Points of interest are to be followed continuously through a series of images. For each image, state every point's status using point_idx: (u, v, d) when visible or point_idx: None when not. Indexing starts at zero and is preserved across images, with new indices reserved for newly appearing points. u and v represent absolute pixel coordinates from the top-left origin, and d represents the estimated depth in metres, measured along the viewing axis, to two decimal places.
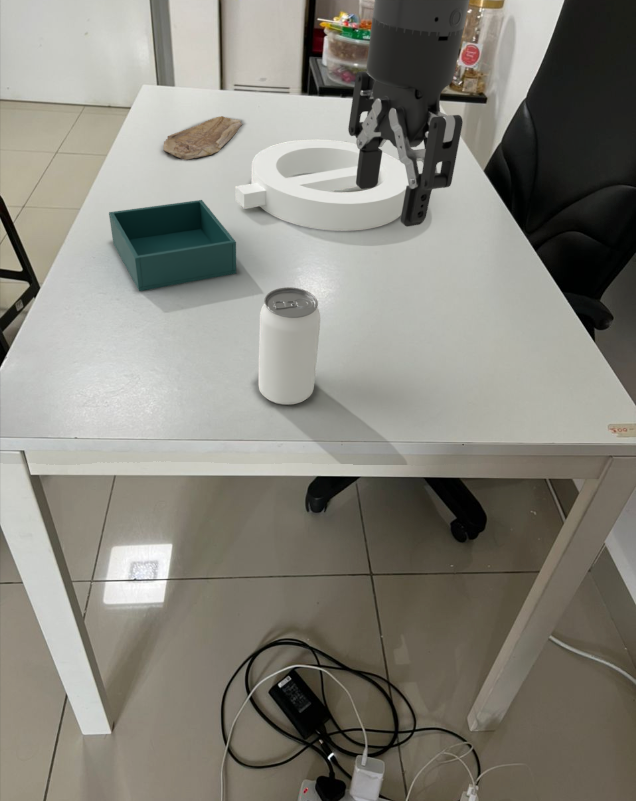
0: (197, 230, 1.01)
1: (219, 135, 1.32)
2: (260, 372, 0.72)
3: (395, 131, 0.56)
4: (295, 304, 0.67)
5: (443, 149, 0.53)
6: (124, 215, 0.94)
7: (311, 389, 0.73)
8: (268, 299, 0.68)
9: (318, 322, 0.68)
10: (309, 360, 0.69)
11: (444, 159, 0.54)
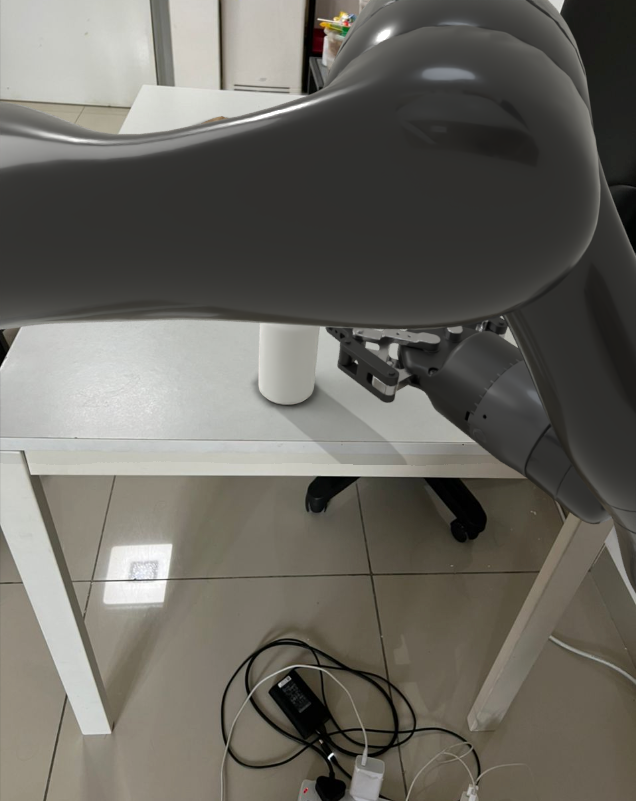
0: None
1: None
2: (260, 372, 0.72)
3: (417, 335, 0.51)
4: None
5: (366, 373, 0.49)
6: None
7: (311, 389, 0.73)
8: None
9: None
10: (309, 360, 0.69)
11: (358, 370, 0.49)
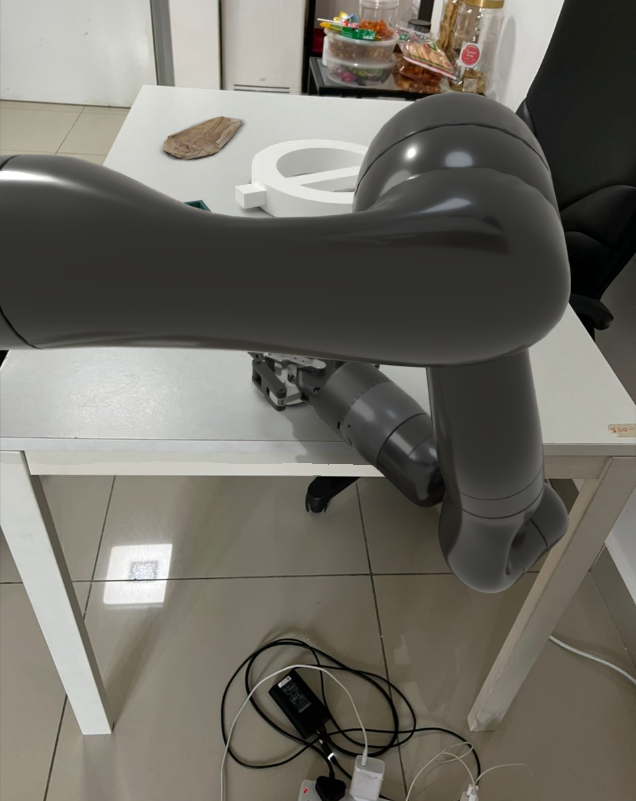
0: None
1: (219, 135, 1.32)
2: None
3: (310, 360, 0.65)
4: None
5: (266, 386, 0.64)
6: None
7: None
8: None
9: None
10: None
11: (262, 384, 0.64)
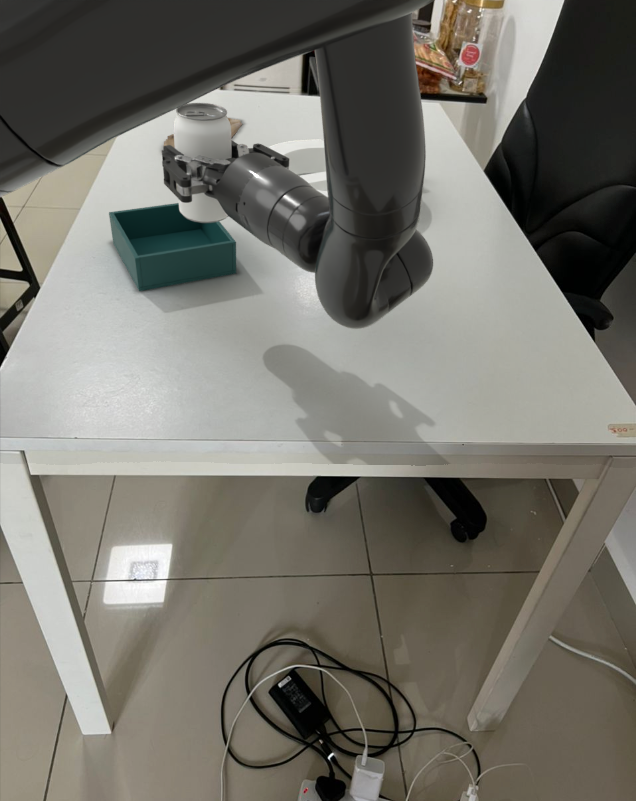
0: (197, 230, 1.01)
1: None
2: None
3: (216, 160, 0.69)
4: (205, 113, 0.71)
5: (173, 181, 0.68)
6: (124, 215, 0.94)
7: None
8: (181, 110, 0.72)
9: (227, 131, 0.72)
10: None
11: (170, 180, 0.69)
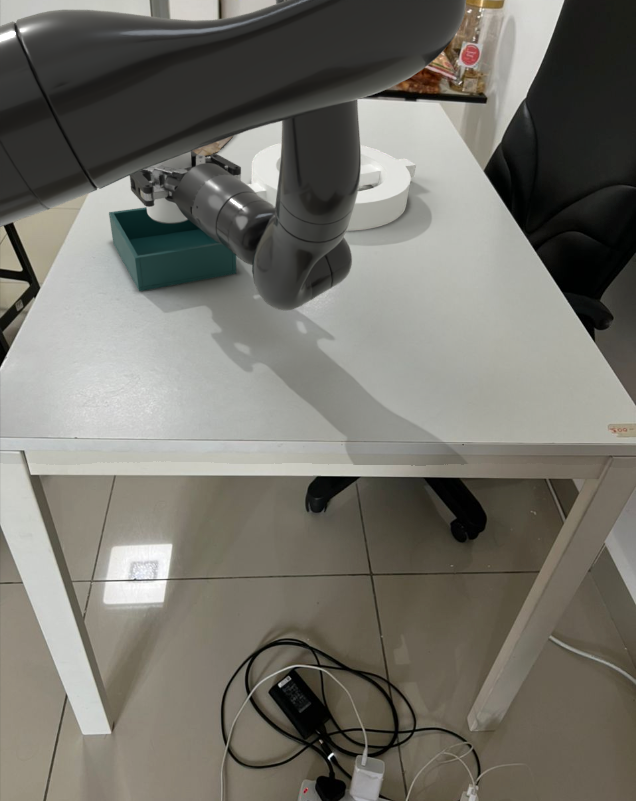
0: (197, 230, 1.01)
1: None
2: None
3: (175, 169, 0.80)
4: None
5: (138, 187, 0.79)
6: (124, 215, 0.94)
7: None
8: None
9: None
10: None
11: (135, 187, 0.79)
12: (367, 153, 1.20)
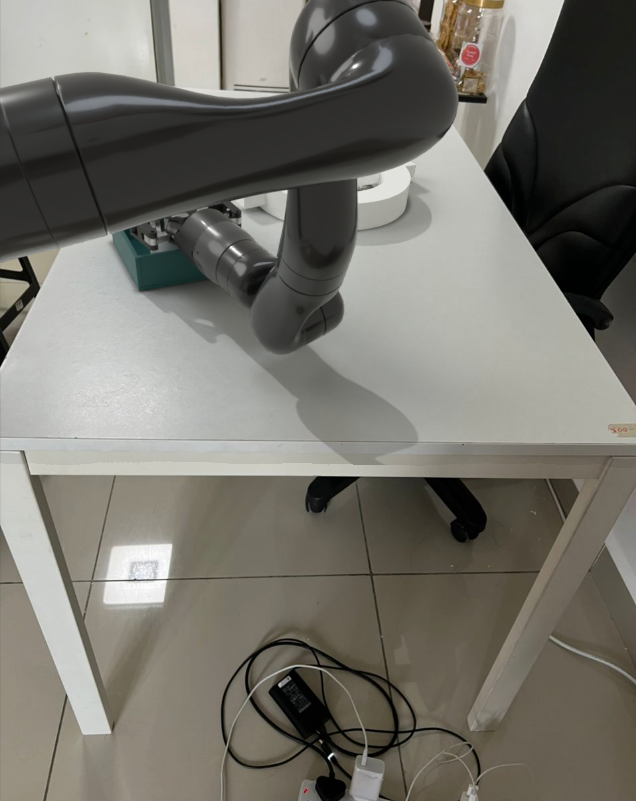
0: None
1: None
2: None
3: None
4: None
5: (141, 233, 0.82)
6: None
7: None
8: None
9: None
10: None
11: (138, 232, 0.83)
12: None
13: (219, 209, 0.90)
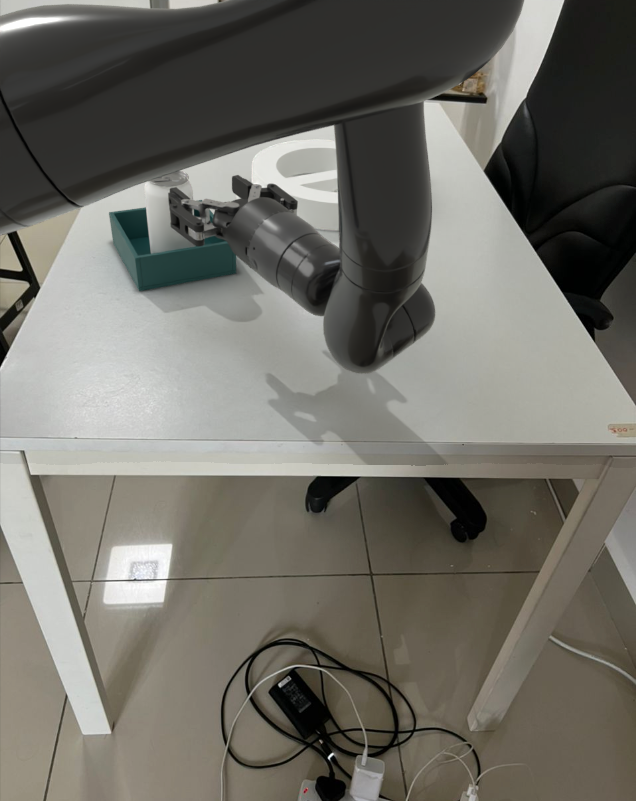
0: None
1: None
2: (149, 239, 0.91)
3: (224, 203, 0.72)
4: (171, 179, 0.86)
5: (184, 225, 0.70)
6: (124, 215, 0.94)
7: None
8: None
9: (189, 193, 0.87)
10: None
11: (180, 225, 0.71)
12: None
13: None
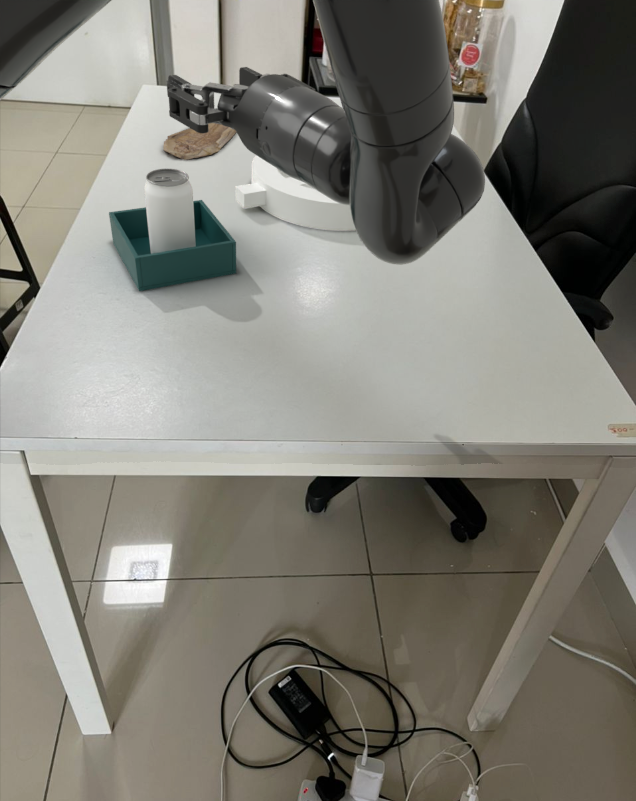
0: (197, 230, 1.01)
1: (219, 135, 1.32)
2: (149, 239, 0.91)
3: (231, 86, 0.62)
4: (171, 179, 0.86)
5: (185, 109, 0.61)
6: (124, 215, 0.94)
7: None
8: (150, 176, 0.87)
9: (189, 193, 0.87)
10: (184, 225, 0.89)
11: (180, 110, 0.61)
12: None
13: None
